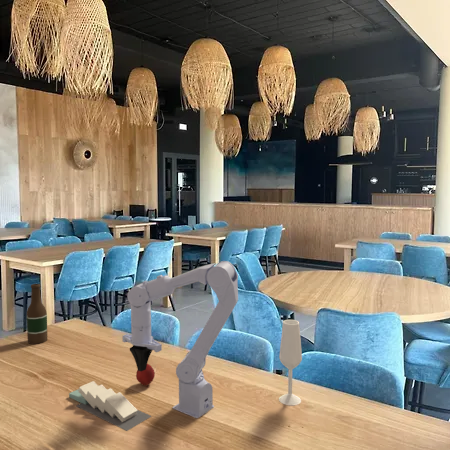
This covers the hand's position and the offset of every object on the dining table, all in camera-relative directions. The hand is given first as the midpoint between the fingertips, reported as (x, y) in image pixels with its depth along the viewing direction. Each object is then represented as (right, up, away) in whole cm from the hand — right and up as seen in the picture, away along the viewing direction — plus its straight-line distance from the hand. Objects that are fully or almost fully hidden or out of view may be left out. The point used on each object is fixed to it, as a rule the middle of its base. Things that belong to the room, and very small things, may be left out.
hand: (141, 369), depth 127 cm
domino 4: (-5, -9, -7) cm, 13 cm away
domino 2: (-11, -9, -2) cm, 15 cm away
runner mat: (-7, -10, -5) cm, 14 cm away
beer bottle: (-53, -6, +51) cm, 74 cm away
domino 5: (-1, -10, -9) cm, 13 cm away
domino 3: (-8, -9, -5) cm, 13 cm away
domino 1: (-15, -9, 0) cm, 17 cm away
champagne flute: (+44, -10, +2) cm, 45 cm away
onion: (-1, -9, +11) cm, 15 cm away
